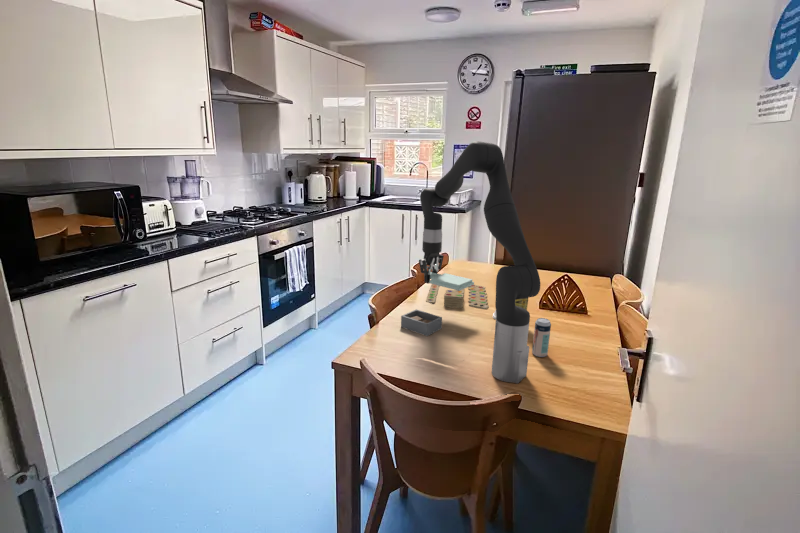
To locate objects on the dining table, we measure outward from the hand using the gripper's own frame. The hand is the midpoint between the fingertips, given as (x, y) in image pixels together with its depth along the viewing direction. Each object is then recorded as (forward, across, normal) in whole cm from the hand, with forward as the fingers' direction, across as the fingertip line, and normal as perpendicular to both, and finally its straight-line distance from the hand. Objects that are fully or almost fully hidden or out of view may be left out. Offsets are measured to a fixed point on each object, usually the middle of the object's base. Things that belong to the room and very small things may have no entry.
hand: (430, 281), depth 167 cm
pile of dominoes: (+14, +27, +4) cm, 30 cm away
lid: (-1, 0, -8) cm, 8 cm away
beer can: (+13, -6, -49) cm, 51 cm away
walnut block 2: (+12, -16, -11) cm, 23 cm away
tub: (+13, -16, -8) cm, 22 cm away
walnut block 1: (+12, -16, -6) cm, 21 cm away
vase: (+13, +15, -25) cm, 32 cm away
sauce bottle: (+13, +11, -33) cm, 37 cm away
